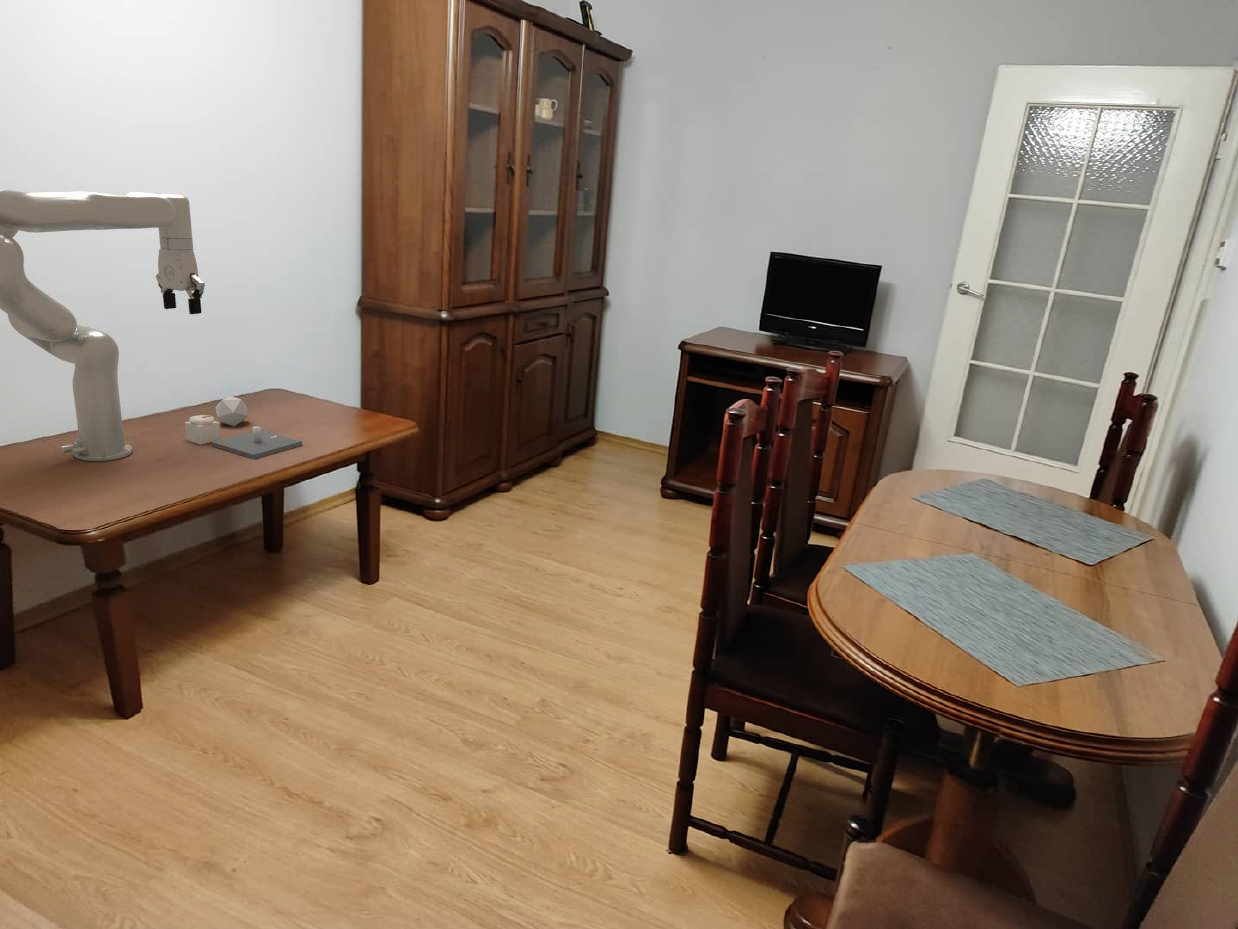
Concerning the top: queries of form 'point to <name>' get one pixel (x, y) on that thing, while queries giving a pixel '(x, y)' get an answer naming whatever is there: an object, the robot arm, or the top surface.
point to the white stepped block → (202, 429)
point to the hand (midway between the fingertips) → (182, 311)
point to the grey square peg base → (256, 443)
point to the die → (231, 411)
